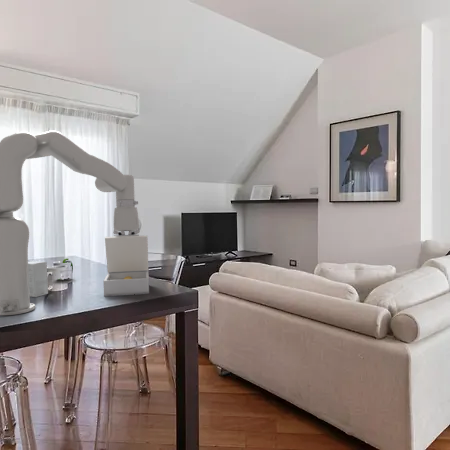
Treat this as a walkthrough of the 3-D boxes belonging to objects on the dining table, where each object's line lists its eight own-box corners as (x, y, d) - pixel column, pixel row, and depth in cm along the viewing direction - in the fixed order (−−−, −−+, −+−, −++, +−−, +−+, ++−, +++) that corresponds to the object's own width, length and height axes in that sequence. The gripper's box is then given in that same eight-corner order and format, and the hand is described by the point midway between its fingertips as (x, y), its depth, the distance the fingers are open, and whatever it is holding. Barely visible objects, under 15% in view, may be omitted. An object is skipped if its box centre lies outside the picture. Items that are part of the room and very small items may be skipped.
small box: (48, 294, 156) (47, 261, 155) (35, 297, 150) (33, 264, 149) (34, 292, 159) (32, 260, 158) (20, 295, 153) (18, 263, 152)
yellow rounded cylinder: (131, 291, 154) (132, 281, 154) (121, 291, 153) (121, 281, 153) (132, 285, 166) (133, 276, 165) (123, 285, 165) (123, 276, 165)
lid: (147, 236, 161) (147, 234, 163) (104, 238, 158) (105, 235, 160) (148, 272, 169) (148, 269, 171) (107, 274, 166) (108, 271, 168)
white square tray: (149, 293, 153) (148, 278, 152) (104, 296, 149) (103, 280, 149) (148, 285, 169) (148, 271, 169) (108, 287, 166) (107, 273, 166)
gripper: (143, 203, 169) (145, 246, 170) (107, 204, 166) (109, 247, 167) (143, 203, 161) (145, 247, 162) (106, 204, 158) (108, 249, 159)
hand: (127, 247), depth 165 cm, fingers closed
